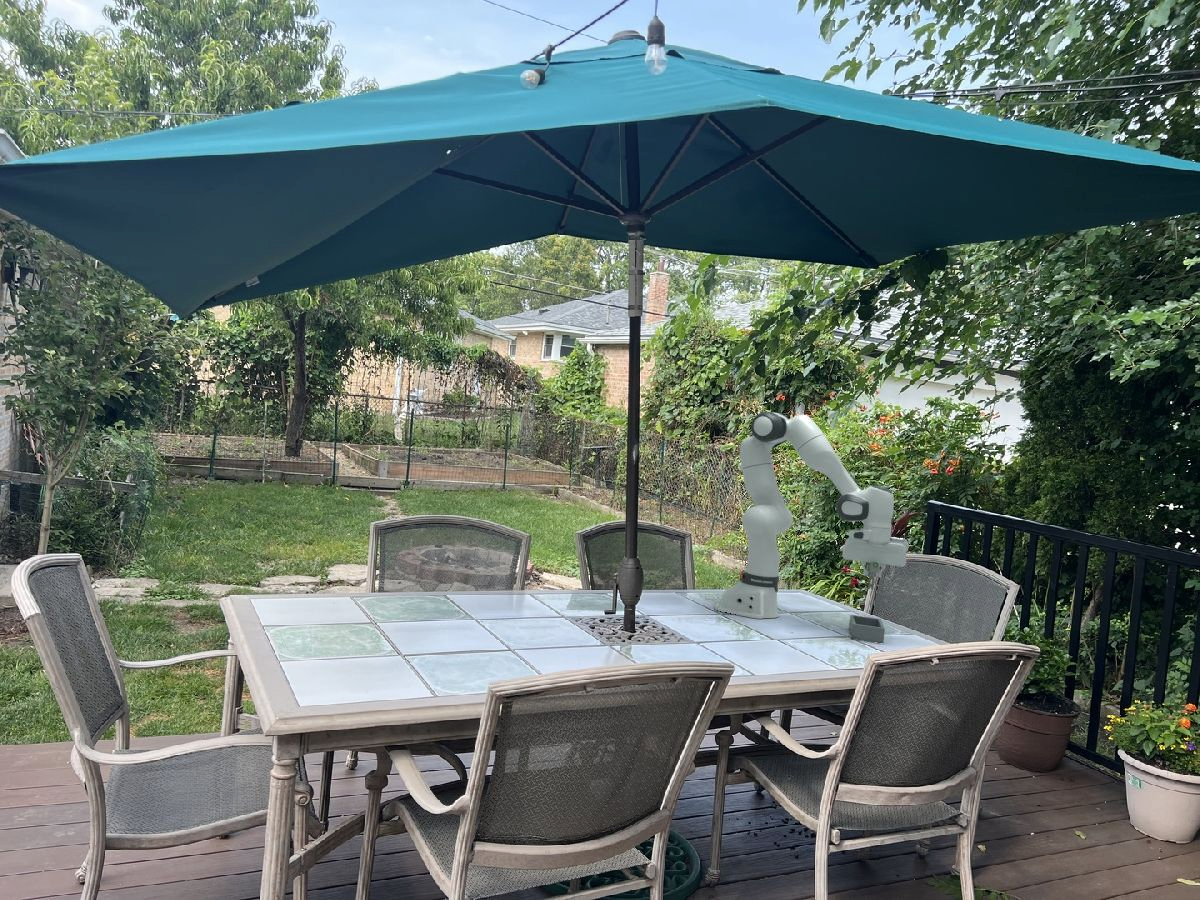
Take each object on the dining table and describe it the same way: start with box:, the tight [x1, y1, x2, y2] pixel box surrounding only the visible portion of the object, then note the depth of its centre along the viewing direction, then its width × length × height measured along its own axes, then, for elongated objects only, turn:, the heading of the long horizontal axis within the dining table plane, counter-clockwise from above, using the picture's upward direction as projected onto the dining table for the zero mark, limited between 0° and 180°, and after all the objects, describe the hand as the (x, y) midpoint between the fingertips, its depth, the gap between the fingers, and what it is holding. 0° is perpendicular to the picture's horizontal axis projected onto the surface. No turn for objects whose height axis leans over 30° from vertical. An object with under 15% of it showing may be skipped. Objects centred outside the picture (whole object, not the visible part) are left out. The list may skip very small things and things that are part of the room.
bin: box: [848, 614, 886, 644], centre depth 282 cm, size 10×15×5 cm, turn 166°
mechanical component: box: [866, 562, 880, 591], centre depth 282 cm, size 3×10×10 cm, turn 169°
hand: (871, 576), depth 282 cm, fingers closed on mechanical component, 3 cm apart
